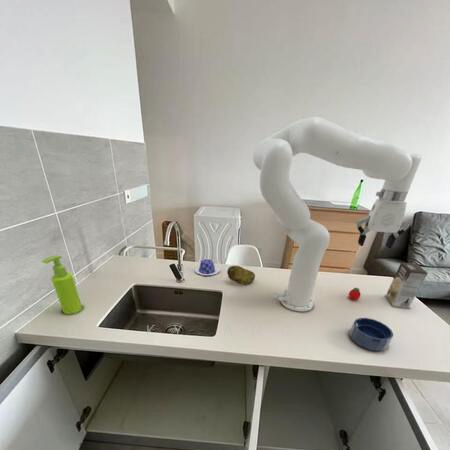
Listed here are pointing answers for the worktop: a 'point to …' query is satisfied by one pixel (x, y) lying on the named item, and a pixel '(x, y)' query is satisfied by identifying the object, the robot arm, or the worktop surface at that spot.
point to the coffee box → (406, 284)
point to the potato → (240, 275)
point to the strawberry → (354, 294)
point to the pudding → (206, 268)
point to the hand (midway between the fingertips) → (374, 246)
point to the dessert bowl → (371, 334)
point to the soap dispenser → (64, 286)
